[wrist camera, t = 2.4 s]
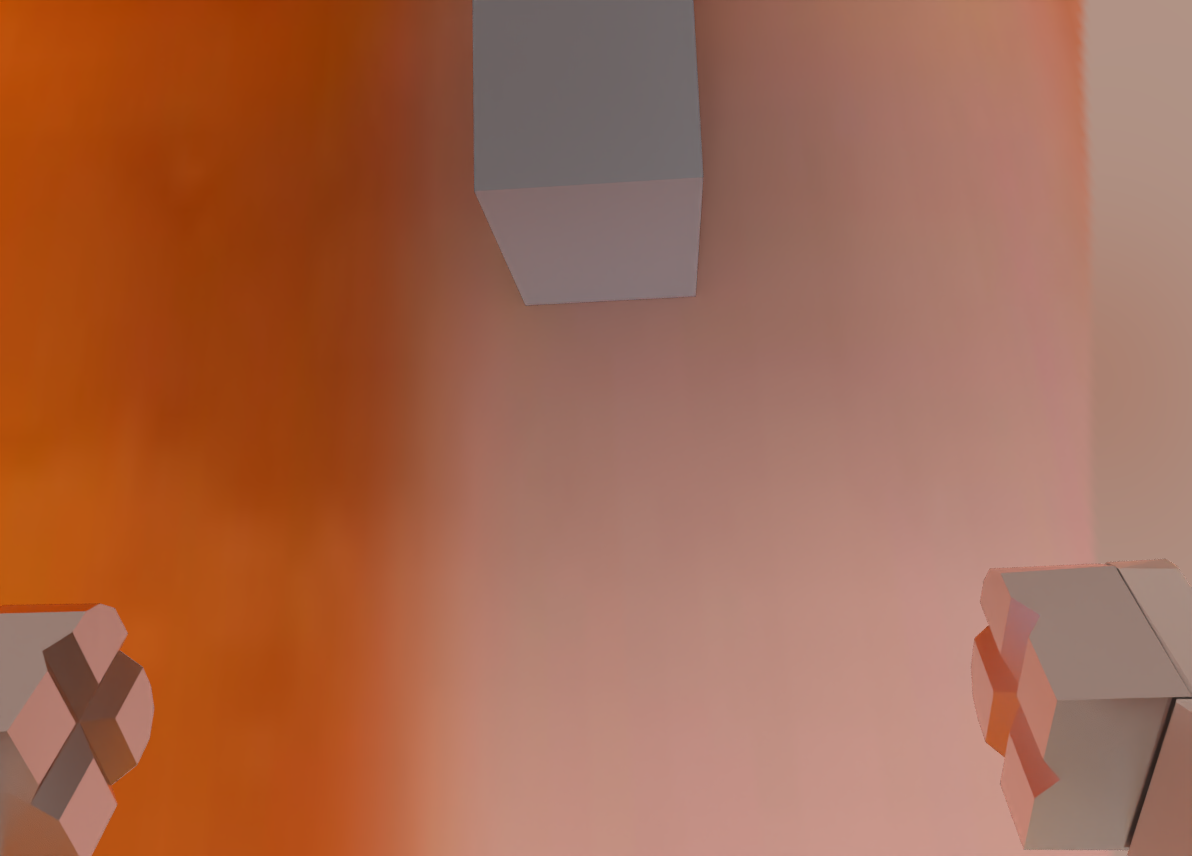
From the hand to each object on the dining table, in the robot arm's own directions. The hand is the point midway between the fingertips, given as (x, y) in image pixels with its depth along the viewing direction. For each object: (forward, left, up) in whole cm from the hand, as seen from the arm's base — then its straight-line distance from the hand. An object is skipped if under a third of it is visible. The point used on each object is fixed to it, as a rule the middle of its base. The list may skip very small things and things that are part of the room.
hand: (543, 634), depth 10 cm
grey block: (-12, +11, -19) cm, 25 cm away
